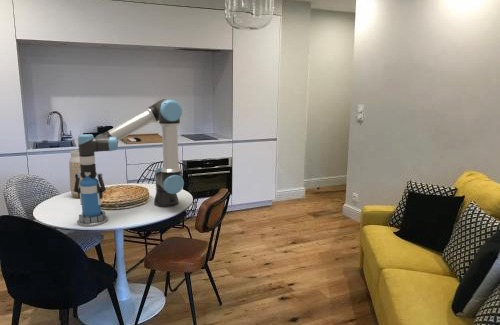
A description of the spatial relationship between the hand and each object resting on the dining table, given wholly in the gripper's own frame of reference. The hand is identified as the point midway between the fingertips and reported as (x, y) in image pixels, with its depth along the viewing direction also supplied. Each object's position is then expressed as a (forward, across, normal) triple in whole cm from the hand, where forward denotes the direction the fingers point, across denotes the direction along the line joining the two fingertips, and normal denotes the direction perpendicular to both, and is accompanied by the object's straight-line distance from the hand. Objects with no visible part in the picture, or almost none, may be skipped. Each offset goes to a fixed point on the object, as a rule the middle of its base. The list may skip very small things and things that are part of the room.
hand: (91, 204), depth 216 cm
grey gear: (+10, 0, 0) cm, 10 cm away
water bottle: (+7, 0, 0) cm, 7 cm away
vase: (+10, +28, -51) cm, 59 cm away
